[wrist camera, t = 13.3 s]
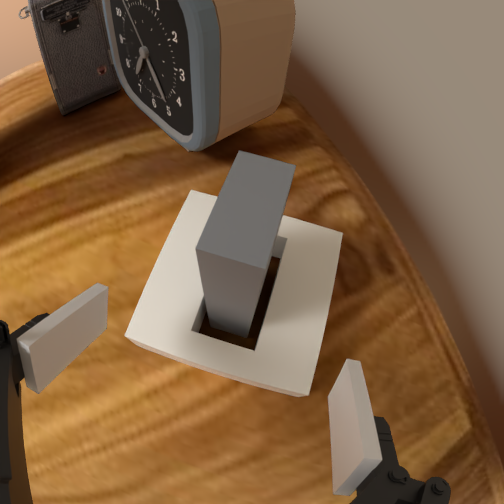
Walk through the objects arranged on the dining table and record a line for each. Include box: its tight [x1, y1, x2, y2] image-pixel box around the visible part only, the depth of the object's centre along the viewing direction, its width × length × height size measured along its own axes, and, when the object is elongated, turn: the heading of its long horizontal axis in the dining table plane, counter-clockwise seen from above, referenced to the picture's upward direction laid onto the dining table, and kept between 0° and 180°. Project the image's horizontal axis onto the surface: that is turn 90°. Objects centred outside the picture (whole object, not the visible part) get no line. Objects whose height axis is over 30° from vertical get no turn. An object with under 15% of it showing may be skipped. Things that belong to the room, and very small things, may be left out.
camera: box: [19, 0, 121, 115], centre depth 33 cm, size 11×17×20 cm, turn 31°
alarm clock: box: [102, 0, 295, 152], centre depth 27 cm, size 21×10×22 cm, turn 42°
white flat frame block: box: [125, 190, 343, 397], centre depth 24 cm, size 13×13×4 cm
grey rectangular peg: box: [195, 151, 296, 338], centre depth 20 cm, size 3×6×13 cm, turn 164°
